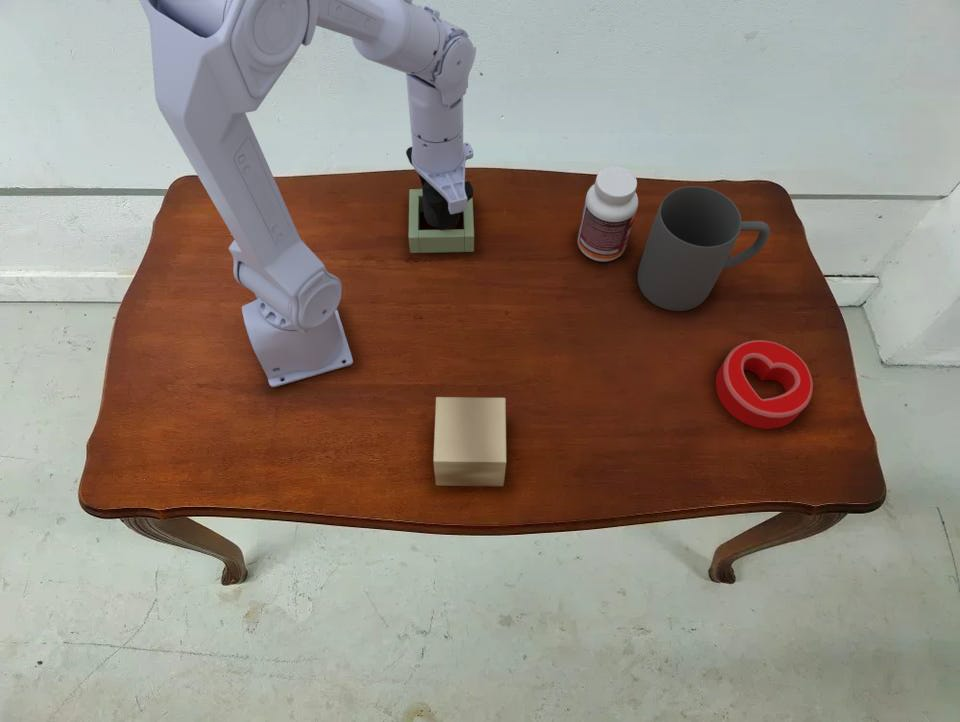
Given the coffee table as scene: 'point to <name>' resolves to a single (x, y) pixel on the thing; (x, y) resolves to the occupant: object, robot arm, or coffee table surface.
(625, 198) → the pill bottle
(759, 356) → the decorative ornament
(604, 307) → the coffee table surface
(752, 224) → the mug
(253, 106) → the robot arm
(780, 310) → the coffee table surface
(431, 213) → the pad plug
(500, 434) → the stand
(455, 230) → the holder
